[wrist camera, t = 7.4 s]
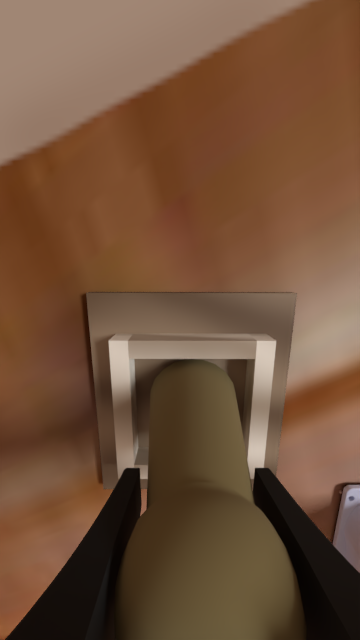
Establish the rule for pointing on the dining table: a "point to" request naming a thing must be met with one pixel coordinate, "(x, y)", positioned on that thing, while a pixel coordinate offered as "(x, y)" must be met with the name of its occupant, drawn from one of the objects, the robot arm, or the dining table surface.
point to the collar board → (180, 344)
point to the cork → (203, 527)
